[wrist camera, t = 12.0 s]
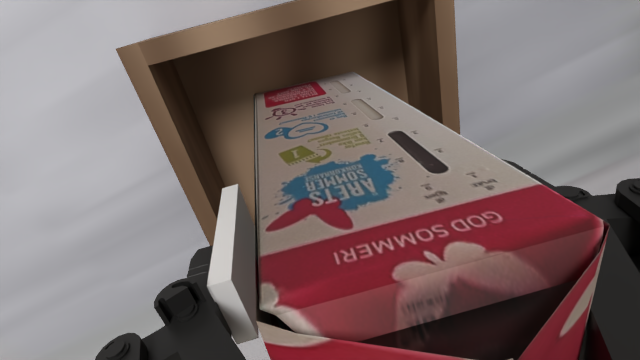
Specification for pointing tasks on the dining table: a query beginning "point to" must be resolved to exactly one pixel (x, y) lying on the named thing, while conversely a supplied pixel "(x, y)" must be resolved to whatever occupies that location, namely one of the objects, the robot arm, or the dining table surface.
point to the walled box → (282, 78)
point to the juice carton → (407, 237)
